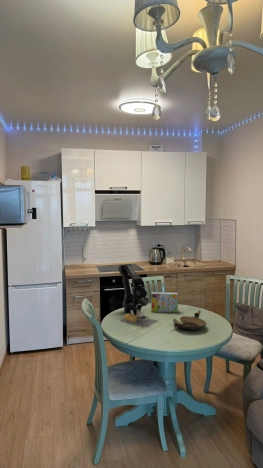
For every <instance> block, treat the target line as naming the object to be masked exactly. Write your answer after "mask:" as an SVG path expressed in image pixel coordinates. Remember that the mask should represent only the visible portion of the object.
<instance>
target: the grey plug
mask: <svg viewBox="0 0 263 468" xmlns="http://www.w3.org/2000/svg"><path fill="white" fill-rule="evenodd" d="M130 314H131V315H134V313H133V311H132V310H131V313H130ZM136 316H137V317H142V316H144V310H142V309H141V310H138V309H137V314H136Z"/></svg>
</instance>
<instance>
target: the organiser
mask: <svg viewBox="0 0 263 468" xmlns="http://www.w3.org/2000/svg"><path fill="white" fill-rule="evenodd" d="M120 322H125V323H128V324H133V325H136V326H141V327H143V328H149V327H150V326H152V325H154V324H155V323H157V322H159V320H157V319H152V318H148V317H147V316H146V315H143V316H142V317H137V321H136V322H133V321H129V320H125V319H124V318H121V319H120Z"/></svg>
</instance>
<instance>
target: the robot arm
mask: <svg viewBox="0 0 263 468" xmlns="http://www.w3.org/2000/svg"><path fill="white" fill-rule="evenodd" d="M118 272H119V274H120V275H121V277H122V284H123V287H124V288H123V290H124V297H123V301H122V307H123V311H124V313H126V314H131V310H132V311H133V313H134V315H135V316H136V314H137V309H138V310H142V308H143V307H146V306H148V304H149V303H150V300H149V298H148V297H147V295H148V292H147V290H146V289H145V282H144V280H143V278H142V276H140V274H137V273H136V271H135V268H133V266H132V264H131V263H126V264H120V265H119V266H118ZM129 278H130V279H131V281H130V279H129ZM130 282H131V283H130ZM131 285H132V289H133V293H132V289H131Z"/></svg>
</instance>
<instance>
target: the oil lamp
mask: <svg viewBox="0 0 263 468" xmlns="http://www.w3.org/2000/svg"><path fill="white" fill-rule="evenodd" d="M201 311H202V310H200V309H199V310H198V311H197V312H194V316H188V315H187V316H184V315H183V316H181V317H179V319H180V321H179V320H177V318H173V319H172V322H173V323H174V324H175V325H177V326H179V327H181V328H184V329H187V330H197V329H201V328H203V327H206V326H207V322H206V320H203V319H202V318H200V315H201Z"/></svg>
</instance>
